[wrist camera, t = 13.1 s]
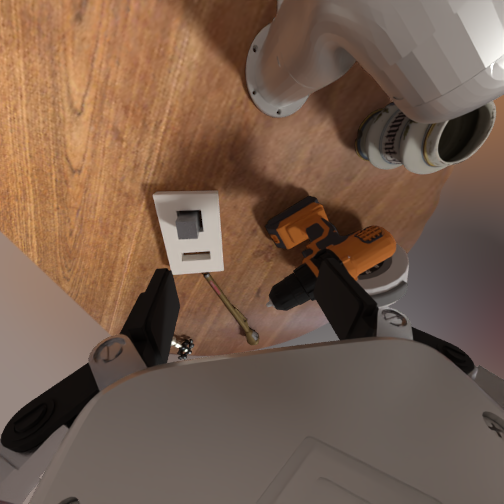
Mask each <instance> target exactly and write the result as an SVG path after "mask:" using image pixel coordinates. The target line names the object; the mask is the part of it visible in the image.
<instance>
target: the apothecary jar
mask: <svg viewBox="0 0 504 504" xmlns="http://www.w3.org/2000/svg"><path fill="white" fill-rule="evenodd" d="M495 117H496V107H495V104H494V103H493V101H491V102H489V103H487V104H485V105H483V106H481V107H479V108H477V109H475V110H473V111H471V112H469V113H467V114H464V115H462V116H459V117H457V118H454V119H451V120H448V121H444V122H439V123H433V124H423V123H418V122H415V121H413V120H411V119H410V118H408V117H407V116H406V115H405V114H404V113H403V112H402V111H401V110H400V109H399V108H398V107H397V106H396V105H395V103H394V102H392V103H390V104H389V105H387V106H386V107H385V108H383V109H379V110H376V111H374V112H372V113H371V114H370V115H369V116H368V117H367V118H366V119H365V120H364V121H363V122H362V124H361V126H360V127H359V129H358V138H357V139H356V141H355V148H356V152H357V154H358V156H359V157H360V158H361V159H363V160H366V161H370V162H371V163H372V164H373V165H374V166H375V167H377V168H380V169H392V168H396V167H399V166H401V165H404V166H405V167H406V168H407V169H408V170H409V171H411V172H413V173H417V174H429V173H433V172H436V171H439V170H441V169H443V168H445V167H446V166H448V165H454V164H458V163H460V162H463V161H464V160H466V159H468V158H469V157H470V156H472V155H473V154H474V153H475V152H476V151H477V150H478V149H479V148H480V147H481V146H482V144H483V143H484V142H485V140H486V139H487V137H488V136H489V134H490V132H491V130H492V128H493V125H494V122H495Z"/></svg>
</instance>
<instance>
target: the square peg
mask: <svg viewBox="0 0 504 504" xmlns="http://www.w3.org/2000/svg"><path fill="white" fill-rule="evenodd" d="M175 223H176V228H177V234H178V239H179V240H180V239H198V236H199V231H200V226H201V221H200V213H199V210H184V211H181V212H180V214H179V216H178V218H177V220H176V221H175Z"/></svg>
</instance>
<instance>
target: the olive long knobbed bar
mask: <svg viewBox="0 0 504 504" xmlns="http://www.w3.org/2000/svg"><path fill="white" fill-rule="evenodd" d="M204 277H205V278H206V279H207V281H208V282H209V283H210V285H211V286H212V287H213V289H214V290H215V291H216V293H217V294H218V295H219V297H220V298H221V299H222V301H223V302H224V304H225V305H226V306H227V308H228V309H229V310H230V312H231V313H232V314H233V316H234V317H235V318H236V320H237V321H238V322H239V324H240V325H241V326H242V328H243V329H244V330H245V334H246V338H247V342H248V343H249V344H250V345H257V344H258V342H259V335H258V333H257V332H254V331H253V330H251V329H250V328H249V326H248V323H247V319H246V318H245V317H244V316H243V315H242V313H241V312H239V311H238V310H237V309H236V308H234V307H233V306H232V305H231V303H230V302H229V300H228V299H227V298H226V296H225V295H224V293H223V292H222V291H221V289H220V288H219V287H218V285H217V284H216V282H215V281H214V280H213V278H212V277H211V275H210V274H209V272H208V274H207V275H206V274H204ZM243 319H245V321H244V320H243Z"/></svg>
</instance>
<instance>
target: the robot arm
mask: <svg viewBox="0 0 504 504" xmlns="http://www.w3.org/2000/svg"><path fill="white" fill-rule="evenodd" d="M253 49H255V50H256V52H254V51H253ZM356 60H357V62H358V63H359V64H360V65H361V66H362V67H363V69H364V70H365V71H366V72H367V73H369V74H370V75H371V76H372V77H373V78H374V80H375V81H376V82H377V83H378V84H379V86H380V87H381V88H382V89H383V90H384V91H385V93H386V94H387V95H388V96H389V97H390V99H391V100H392V101H393V102H394V103H395V105H396V106H397V107H398V108H399V109H400V110H401V111H402V112H403V113H404V114H405V115H406V116H407V117H408V118H410V119H411V120H413V121H415V122H418V123H423V124H433V123H439V122H444V121H448V120H451V119H454V118H457V117H459V116H462V115H464V114H467V113H469V112H471V111H473V110H475V109H477V108H479V107H481V106H483V105H485V104H487V103H489V102H491V101H493V100H495V99H496V98H498V97H500V96H502V95H504V0H277V15H276V17H275V18H274V19H273V21H272V23H270V24H268V25H267V26H265V27H264V28H263V29H262V30H261V31H260V32H259V33H258V34H257V35H256V37H255V39H254V41H253V42H252V44H251V47H250V49H249V52H248V56H247V61H246V68H245V70H246V84H247V88H248V92H249V95H250V97H251V99H252V101H253V102H254V104H255V105H256V107H257V108H258V109H259V110H260V111H261V112H263V113H264V114H266V115H268V116H271V117H275V118H281V117H286V116H289V115H291V114H293V113H295V112H296V111H297V110H298V109H300V108H301V106H302V105H303V104H304V103H305V102H306V100H307V98H308V97H309V95H310V94H311V93H313V92H315V91H317V90H319V89H321V88H323V87H325V86H327V85H329V84H330V83H332V82H334V81H336V80H337V79H339V78H340V77H341V76H343V75H344V74H345V73H346V72H347V71H348V70H349V69H350V68H351V67H352V66H353V64H354V63H355V62H356ZM253 91H254V92H255V95H254V94H253ZM277 111H278V112H279V114H277ZM314 297H315V299H316V301H317V302H318V304H319V306H320V307H321V309H322V311H323V312H324V314H325V316H326V317H327V319H328V321H329V323H330V324H331V326H332V328H333V329H334V331H335V333H336V334H337V336H338V338H339V339H340V340H338V341H330V342H321V343H314V344H305V345H297V346H289V347H281V348H273V349H265V350H257V351H249V352H241V353H234V354H226V355H219V356H211V357H204V358H197V359H190V360H184V361H177V362H172V363H167V360H168V356H169V352H170V348H171V343H172V339H173V335H174V330H175V326H176V322H177V318H178V313H179V309H180V303H179V299H178V295H177V291H176V286H175V282H174V278H173V274H172V271H171V270H170V271H169V270H168V269H167V268H162V269H156V271H155V273H154V275H153V277H152V279H151V281H150V283H149V285H148V287H147V289H146V291H145V292H144V293H141V294H140V295H139V297H138V299H137V301H136V303H135V305H134V307H133V309H132V311H131V313H130V315H129V316H128V318H127V320H126V322H125V324H124V326H123V328H122V330H121V332H120V334H118V335H113V336H110V337H108V338H106V339H104V340H103V341H101V342H100V343H98V344H97V346H95V347H94V348H93V350H92V352H91V353H90V355H89V358H88V359H89V362H88V363H87V364H86V365H84V366H83V367H81V368H80V369H78V370H77V371H75V372H74V373H73V374H71V375H69V376H68V377H66V378H65V379H63V380H62V381H60V382H59V383H57V384H56V385H54V386H53V387H52V388H50V389H49V390H47V391H46V392H44V393H43V394H41V395H40V396H38V397H37V398H35V399H34V400H32V401H31V402H29V403H28V404H27V405H25V406H24V407H23V408H21V409H20V410H19V411H18V412H17V413H16V414H15V415H14V416H13V417H12V419H11V420H10V421H9V422H8V424H7V425H6V426H5V429H4V431H3V433H2V435H1V439H0V504H22V503H23V502H24V500H25V499H26V497H27V496H28V495H29V493H30V492H31V491H32V490H33V488H34V487H35V486H36V485H37V484H38V483H39V484H38V486H37V488H36V490H35V492H34V494H33V496H32V498H31V500H30V502H29V503H28V504H504V380H503V379H502V378H500V377H498V376H496V375H495V374H493V373H491V372H490V371H488V370H487V369H485V368H483V367H482V366H480V365H479V366H478V367H476V366H474V363H473V361H472V360H471V358H470V357H469V356H468V355H467V354H466V353H465V352H463V351H462V350H461V349H459V348H458V347H456V346H454V345H452V344H451V343H448V342H446V341H443V340H441V339H439V338H436V337H434V336H432V335H430V334H427V333H425V332H423V331H420V330H418V329H416V328H413V327H411V323H410V321H409V319H408V318H407V317H406V316H405V315H404V314H403V313H401V312H400V311H398V310H395V309H393V308H390V307H381V308H380V309H379V308H378V307H377V303H376V301H375V300H374V299H373V298H372V297H371V296H370V295H369V294H368V293H367V292H366V291H365V290H364V289H363V288H362V287H361V286H360V285H359V283H358V282H357V281H356V280H355V279H354V278H353V277H352V276H351V275H350V274H349V273H348V272H347V271H346V270H345V269H344V268H343V266H342V265H341V264H340V263H339V262H338V261H337V260H336V259H335V258H328V259H324V261H322V262H321V266H320V269H319V273H318V277H317V281H316V284H315V288H314ZM45 470H46V471H45ZM44 471H45V473H44V474H43V476H42V478H41V479H40V478H39V477H40V475H41V474H42V473H43V472H44ZM39 481H40V482H39ZM78 500H79V501H78Z"/></svg>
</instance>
